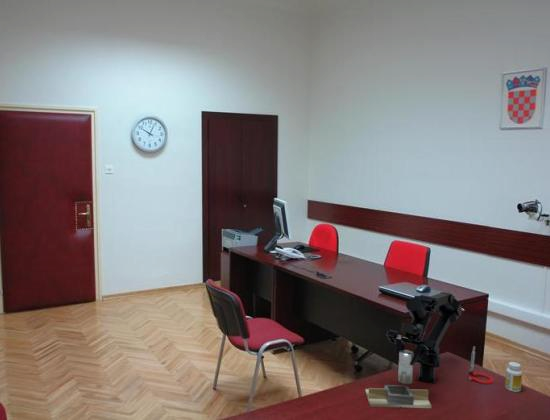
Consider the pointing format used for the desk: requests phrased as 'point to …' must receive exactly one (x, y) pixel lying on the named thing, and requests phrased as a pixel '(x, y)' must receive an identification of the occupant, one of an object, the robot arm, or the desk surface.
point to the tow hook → (472, 373)
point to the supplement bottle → (513, 377)
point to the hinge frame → (398, 397)
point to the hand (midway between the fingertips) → (404, 362)
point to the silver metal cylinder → (405, 366)
